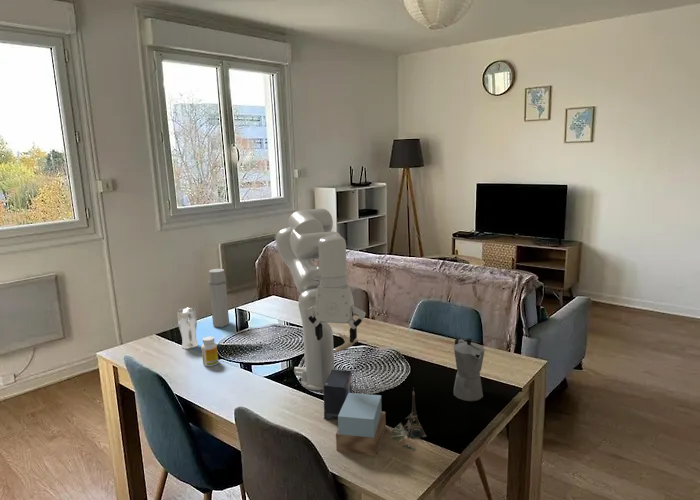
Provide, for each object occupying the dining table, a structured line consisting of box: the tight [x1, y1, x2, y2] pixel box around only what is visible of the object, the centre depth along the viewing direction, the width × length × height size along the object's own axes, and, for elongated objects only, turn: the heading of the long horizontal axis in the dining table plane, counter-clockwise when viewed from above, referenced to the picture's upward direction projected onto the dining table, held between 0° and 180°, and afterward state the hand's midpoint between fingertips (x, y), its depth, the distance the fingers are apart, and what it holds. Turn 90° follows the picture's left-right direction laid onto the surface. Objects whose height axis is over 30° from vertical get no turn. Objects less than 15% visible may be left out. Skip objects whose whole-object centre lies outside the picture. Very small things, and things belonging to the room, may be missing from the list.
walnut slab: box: [335, 411, 387, 457], centre depth 127 cm, size 10×13×5 cm
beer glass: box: [176, 307, 199, 350], centre depth 192 cm, size 7×7×15 cm
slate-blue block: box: [337, 392, 382, 438], centre depth 126 cm, size 9×12×5 cm
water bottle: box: [207, 268, 230, 328], centre depth 214 cm, size 9×8×25 cm
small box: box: [322, 369, 353, 421], centre depth 140 cm, size 11×6×10 cm, turn 168°
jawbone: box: [334, 332, 359, 354], centre depth 188 cm, size 9×20×2 cm, turn 168°
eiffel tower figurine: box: [390, 387, 428, 452], centre depth 129 cm, size 15×10×13 cm
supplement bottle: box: [200, 335, 219, 367], centre depth 176 cm, size 5×5×10 cm
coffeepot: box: [453, 337, 485, 402], centre depth 148 cm, size 15×9×18 cm, turn 13°
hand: (336, 339), depth 137 cm, fingers open, 9 cm apart
